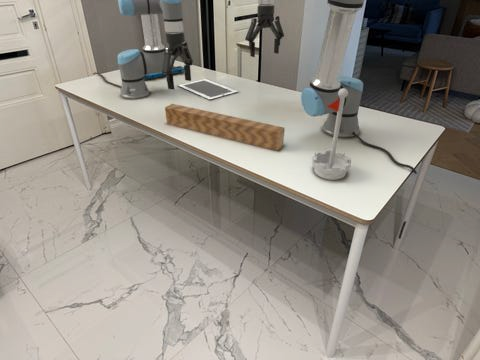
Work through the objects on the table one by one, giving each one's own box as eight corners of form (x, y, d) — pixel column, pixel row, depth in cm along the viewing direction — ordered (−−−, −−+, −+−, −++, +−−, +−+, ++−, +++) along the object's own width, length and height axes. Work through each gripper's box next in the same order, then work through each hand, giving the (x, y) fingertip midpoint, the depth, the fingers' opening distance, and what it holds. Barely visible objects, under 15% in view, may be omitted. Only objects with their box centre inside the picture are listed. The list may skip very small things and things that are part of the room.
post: (283, 145, 138) (284, 127, 134) (278, 151, 134) (279, 132, 130) (174, 119, 161) (172, 103, 156) (166, 123, 157) (164, 107, 152)
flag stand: (334, 159, 128) (348, 80, 112) (356, 176, 118) (375, 92, 101) (304, 166, 124) (314, 84, 108) (324, 184, 114) (338, 97, 97)
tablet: (177, 86, 203) (177, 85, 202) (205, 79, 214) (205, 78, 213) (209, 100, 182) (209, 99, 182) (238, 91, 193) (238, 91, 193)
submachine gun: (173, 60, 241) (193, 66, 225) (174, 66, 243) (193, 71, 227) (128, 69, 223) (145, 75, 206) (129, 75, 225) (146, 82, 208)
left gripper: (183, 27, 148) (187, 76, 159) (148, 36, 129) (155, 91, 140) (198, 28, 145) (201, 78, 157) (164, 38, 126) (171, 94, 137)
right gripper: (283, 2, 158) (281, 50, 170) (237, 5, 148) (238, 56, 159) (293, 4, 153) (290, 53, 164) (246, 7, 142) (246, 59, 154)
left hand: (180, 84), depth 148 cm, fingers open, 13 cm apart
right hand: (264, 54), depth 162 cm, fingers open, 13 cm apart
